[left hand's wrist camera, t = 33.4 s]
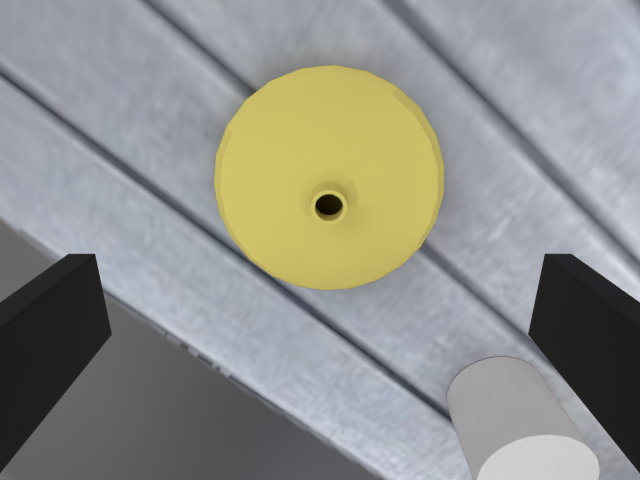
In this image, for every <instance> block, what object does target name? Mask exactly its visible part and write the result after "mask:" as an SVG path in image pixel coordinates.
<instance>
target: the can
mask: <svg viewBox="0 0 640 480" xmlns="http://www.w3.org/2000/svg"><path fill="white" fill-rule="evenodd" d="M447 407H448V410H449V413H450V416H451V419H452V422H453V424H454V427H455V430H456V433H457V436H458V439H459V442H460V444H461V447H462V450H463V453H464V456H465V459H466V461H467V464H468V467H469V470H470V473H471V476H472V479H473V480H598V477H599V463H598V460H597V458H596V456H595V454H594V452H593V451H592V450H591V448H590V447H589V445H588V444H587V442H586V441H585V439H584V438H583V436H582V435H581V434H580V432H579V431H578V429H577V428H576V426H575V425H574V423H573V422H572V420H571V419H570V418H569V416H568V415H567V413H566V412H565V410H564V409H563V407H562V406H561V404H560V403H559V402H558V400H557V399H556V397H555V396H554V394H553V393H552V391H551V390H550V388H549V387H548V386H547V384H546V383H545V381H544V380H543V378H542V377H541V375H540V374H539V373H538V371H537V370H536V369H535V368H534V367H533V366H531V365H530V364H528V363H526V362H524V361H522V360H519V359H516V358H511V357H493V358H488V359H483V360H481V361H478V362H476V363H473V364H471V365H470V366H468V367H466V368H465V369H464V370H462V371H461V372H460V373H459V374H458V375H457V376H456V377H455V378H454V380H453V381H452V383H451V385H450V387H449V389H448V393H447Z"/></svg>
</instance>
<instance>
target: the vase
mask: <svg viewBox="0 0 640 480" xmlns="http://www.w3.org/2000/svg"><path fill="white" fill-rule="evenodd" d="M214 188H215V193H216V198H217V203H218V208H219V213H220V215H221V217H222V219H223V221H224V223H225V226H226V228H227V230H228V232H229V234H230V236H231V238H232V239H233V241H234V242H235V243H236V244H237V245H238V246H239V248H240V249H241V250H242V251H243V252H244V254H245V255H246V256H247V257H248V258H249V259H250V260H251V261H252V262H254V263H255V264H256V265H258V266H259V267H261V268H262V269H263V270H265V271H266V272H267V273H269V274H270V275H272V276H274V277H276V278H279V279H281V280H284V281H286V282H288V283H291V284H293V285H296V286H300V287H306V288H312V289H319V290H335V289H349V288H354V287H357V286H360V285H363V284H366V283H370V282H373V281H376V280H378V279H380V278H382V277H383V276H385V275H387V274H388V273H390V272H392V271H393V270H395V269H397V268H398V267H400V266H401V265H402V264H403V263H404V262H405V261H406V260H407V259H408V258H409V257H410V256H411V255H412V254H413V253H414V252H416V251H417V250H418V249H419V248H420V247H421V245H422V243H423V242H424V240H425V238H426V237H427V235H428V233H429V232H430V230H431V229H432V227H433V225H434V224H435V222H436V218H437V215H438V212H439V208H440V205H441V201H442V198H443V194H444V162H443V158H442V154H441V150H440V147H439V143H438V139H437V135H436V133H435V132H434V130H433V128H432V127H431V125H430V123H429V122H428V120H427V118H426V116H425V115H424V113H423V111H422V110H421V108H420V107H419V106H418V105H417V104H416V103H415V102H414V101H412V100H411V99H410V98H409V97H408V96H407V95H406V94H405V93H404V92H403V91H402V90H401V89H400V88H399V87H397V86H396V85H394V84H392V83H390V82H388V81H386V80H384V79H382V78H380V77H378V76H376V75H374V74H372V73H370V72H368V71H364V70H359V69H353V68H348V67H343V66H337V65H330V66H320V67H310V68H301V69H299V70H296V71H294V72H291V73H289V74H286V75H284V76H281V77H279V78H276V79H274V80H271V81H270V82H268V83H267V84H266V85H265V86H263V87H262V88H261V89H259V90H258V91H257V92H256V93H254V94H253V95H252V96H251V97H249V98H248V99H247V100H245V102H244V103H243V104H242V106H241V107H240V109H239V110H238V111H237V113H236V114H235V115H234V117H233V118H232V120H231V121H230V122H229V124H228V125H227V127H226V129H225V132H224V135H223V138H222V140H221V143H220V146H219V149H218V151H217V154H216V164H215V177H214Z"/></svg>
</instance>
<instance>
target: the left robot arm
mask: <svg viewBox="0 0 640 480" xmlns="http://www.w3.org/2000/svg"><path fill="white" fill-rule="evenodd" d="M111 335H112V333H111V328H110V323H109V319H108V314H107V309H106V304H105V299H104V295H103V290H102V285H101V280H100V275H99V271H98V266H97V261H96V256H95V254H68V255H66V256H65V257H64V258H62V259H61V260H59V261H58V262H57V263H55V264H54V265H52V266H51V267H50V268H48V269H47V270H45V271H44V272H43V273H41V274H40V275H38V276H37V277H35V278H34V279H33V280H31V281H30V282H28V283H27V284H26V285H24V286H23V287H21V288H20V289H19V290H17V291H16V292H14V293H13V294H12V295H10V296H9V297H7V298H6V299H4V300H3V301H2V302H0V473H1V472H2V470H3V469H4V468H5V467H6V465H7V464H8V463H9V462H10V460H11V459H12V458H13V457H14V455H15V454H16V453H17V452H18V450H19V449H20V448H21V447H22V445H23V444H24V443H25V442H26V440H27V439H28V438H29V437H30V435H31V434H32V433H33V432H34V430H35V429H36V428H37V427H38V426H39V424H40V423H41V422H42V421H43V419H44V418H45V417H46V416H47V414H48V413H49V412H50V411H51V409H52V408H53V407H54V406H55V404H56V403H57V402H58V401H59V399H60V398H61V397H62V396H63V394H64V393H65V392H66V391H67V389H68V388H69V387H70V386H71V384H72V383H73V382H74V381H75V380H76V378H77V377H78V376H79V374H80V373H81V372H82V371H83V369H84V368H85V367H86V366H87V365H88V363H89V362H90V361H91V360H92V358H93V357H94V356H95V355H96V353H97V352H98V351H99V350H100V348H101V347H102V346H103V345H104V343H105V342H106V341H107V340H108V338H109V337H110V336H111ZM528 335H529V336H530V337H531V338H532V340H533V341H534V342H535V343H536V345H537V346H538V347H539V348H540V350H541V351H542V352H543V353H544V355H545V356H546V357H547V358H548V360H549V361H550V362H551V363H552V365H553V366H554V367H555V368H556V370H557V371H558V372H559V373H560V375H561V376H562V377H563V378H564V380H565V381H566V382H567V383H568V384H569V386H570V387H571V388H572V389H573V391H574V392H575V393H576V394H577V396H578V397H579V398H580V399H581V401H582V402H583V403H584V404H585V406H586V407H587V408H588V409H589V411H590V412H591V413H592V414H593V416H594V417H595V418H596V419H597V421H598V422H599V423H600V424H601V426H602V427H603V428H604V429H605V430H606V432H607V433H608V434H609V435H610V437H611V438H612V439H613V440H614V442H615V443H616V444H617V445H618V447H619V448H620V449H621V450H622V452H623V453H624V454H625V455H626V457H627V458H628V459H629V460H630V462H631V463H632V464H633V465H634V467H635V468H636V469H637V470H638V472H639V473H640V302H638V301H637V300H636V299H634V298H633V297H631V296H630V295H628V294H627V293H626V292H624V291H623V290H621V289H620V288H619V287H617V286H616V285H614V284H613V283H612V282H610V281H609V280H607V279H606V278H605V277H603V276H602V275H600V274H599V273H598V272H596V271H595V270H593V269H592V268H590V267H589V266H588V265H586V264H585V263H583V262H582V261H581V260H579V259H578V258H576V257H575V256H574V255H572V254H545V256H544V261H543V266H542V271H541V275H540V280H539V285H538V290H537V295H536V299H535V304H534V309H533V314H532V319H531V323H530V328H529V333H528Z"/></svg>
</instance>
